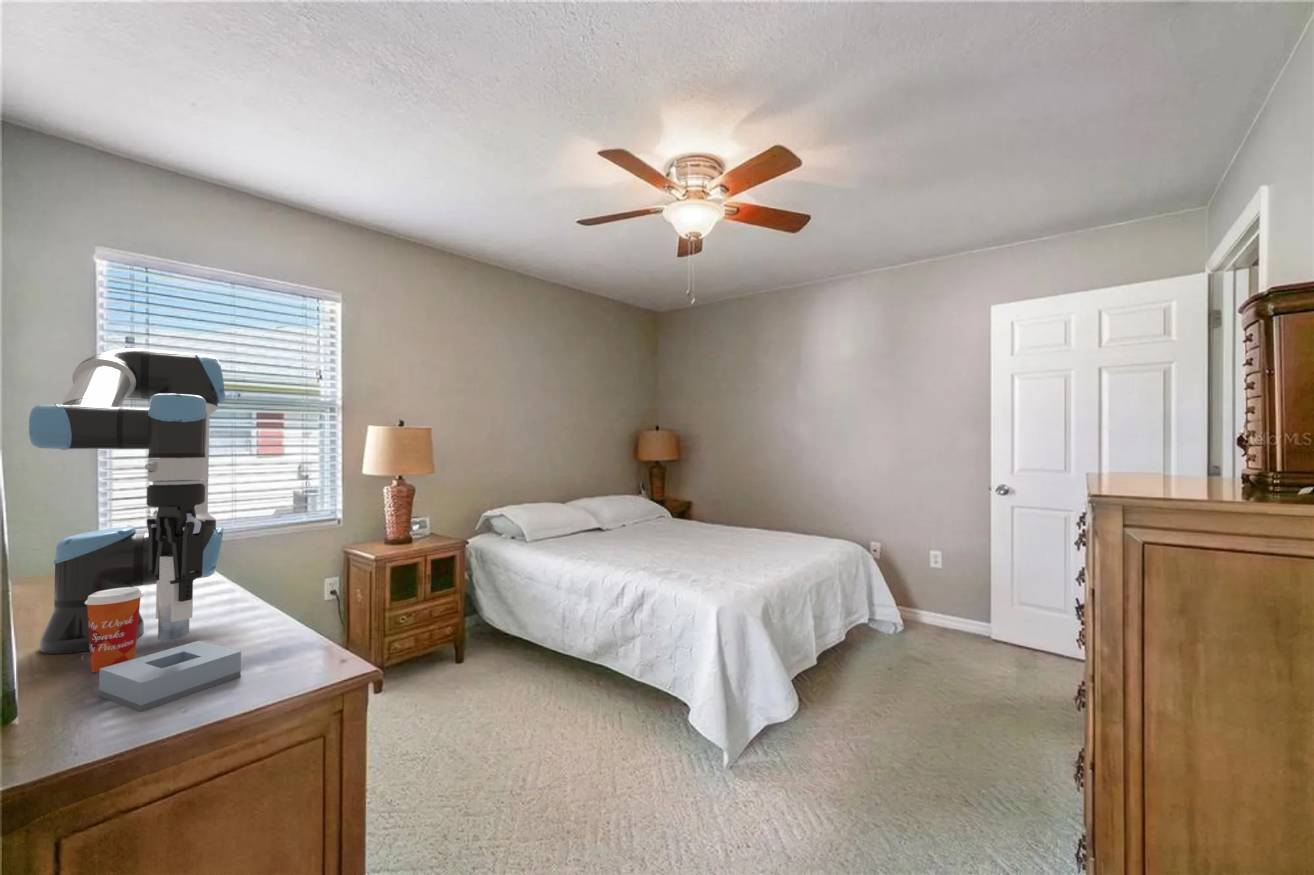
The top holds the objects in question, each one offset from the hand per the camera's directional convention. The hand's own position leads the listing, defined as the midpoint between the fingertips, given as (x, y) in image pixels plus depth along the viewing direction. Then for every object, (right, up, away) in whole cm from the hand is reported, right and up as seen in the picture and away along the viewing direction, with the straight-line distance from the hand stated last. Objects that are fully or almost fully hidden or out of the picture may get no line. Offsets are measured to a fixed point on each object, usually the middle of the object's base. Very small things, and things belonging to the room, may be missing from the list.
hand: (174, 617), depth 92 cm
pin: (0, -3, 0) cm, 3 cm away
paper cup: (-19, -12, +8) cm, 24 cm away
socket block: (0, -12, 0) cm, 12 cm away
